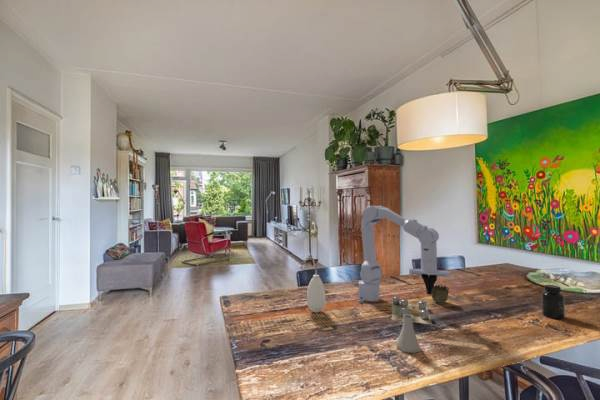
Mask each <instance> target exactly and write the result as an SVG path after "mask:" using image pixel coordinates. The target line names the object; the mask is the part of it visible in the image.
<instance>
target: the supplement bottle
mask: <svg viewBox="0 0 600 400" xmlns="http://www.w3.org/2000/svg"><path fill="white" fill-rule="evenodd" d="M561 292H562V290H561V286H559V285H554V284H544V291H542V292H541V313H542V315H543V316H544V317H547V318H549V319H552V320H564V319H565V318H566V307H565V306H566V304H565V303H566V302H565V296H564V295H563V293H561Z"/></svg>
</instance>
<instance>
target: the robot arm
mask: <svg viewBox="0 0 600 400" xmlns="http://www.w3.org/2000/svg"><path fill="white" fill-rule="evenodd" d="M383 219H386V220H389V221H391V222H393V223H395V224H397V225H398V226H400V227H402V229H403V231H404V232H406V233H407V234H409V235H411V236H413V237H414V238H416V239H417V240H418V241H419V243H420V268H409V269H408V273H409V274H408V275H411V276H412V275H417V276H421V279H422V280H423V282H424V285H425V286H424V287H425V289H426V294H427V295H428V296H429V295H430V296H431V293H432V289H433V286H435V285H436V282H437V280H438V277H444V278H445V277H446V278H451V277H450V275H451V273H450V271H447V270H440V269H438V265H437V264H438V262H437V261H438V256H437V255H438V253H437V251H438V250H437V242H438V241H439V238H440V234H439V232H438V231H437V230H436V229H434V228H433V227H432V228H431V227H430V228H428V226H427V225H424V224H421V223H419V222H418V220H417V219H415V218H410V219H407V218H405V217H402V216H401V215H399V214H398V213H396V212H394V211H393V210H392V209H390V208H388V207H385V206H384V205H381V204H380V205H367V206H366V207H365V208H364V209H363V211H362V218H361V221H360V229H361V239H362V241H361V242H362V250H363V260H364V261H363V263H362V264H361V266H360V267H361V269H360V273H359V275H360V279H361V280H359V281H358V292H357V293H358V295H357V296H358V303H362V304H364V301H368V302H378V301H380V290H381V289H380V282H381V281H380V280H381V278H383V277H382V276H383V270H382V268H381V265H380V263H379V261H378V260H377V251H376V242H375V233H374V232H375V231H374V226H375V225H376V224H377V223H378V222H380V221H381V220H383Z"/></svg>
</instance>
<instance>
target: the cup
mask: <svg viewBox="0 0 600 400" xmlns="http://www.w3.org/2000/svg"><path fill="white" fill-rule="evenodd" d="M449 290H450V288H448V286H447V285H444V286H443V285H440V284H438V285H437V284H434V286H433V289H432V293H431V295H430V296H431V299H432V300H433V301H434V302H435V303H436V304H441V305H442V304H445V302H447V300H448V298H449Z"/></svg>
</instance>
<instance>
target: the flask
mask: <svg viewBox="0 0 600 400" xmlns="http://www.w3.org/2000/svg"><path fill="white" fill-rule="evenodd" d="M403 318H404V321H403V324H402V327H401V330H400V333H399V336H398V338H397V341H396V348H398V349H399V350H400V351H402V352H404V353H410V354H411V353H412V354H415V353H419V352H421V351H422V350H421V347H420V345H419V340H418V338H417V336H416V332H415V329H414V324H413V323H414V322H413V319H414V317H413V316H412V315H410V314H404V315H403Z"/></svg>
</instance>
